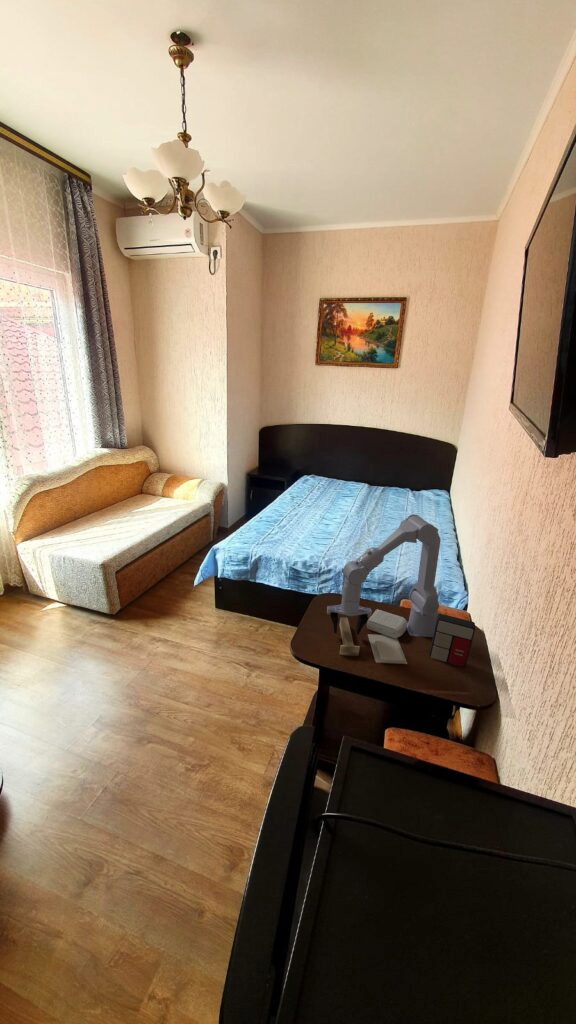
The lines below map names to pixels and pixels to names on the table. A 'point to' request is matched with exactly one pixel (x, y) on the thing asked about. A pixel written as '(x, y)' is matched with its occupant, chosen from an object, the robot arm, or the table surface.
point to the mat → (382, 638)
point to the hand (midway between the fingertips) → (346, 631)
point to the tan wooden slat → (347, 639)
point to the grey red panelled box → (452, 639)
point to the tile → (389, 652)
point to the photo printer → (387, 624)
